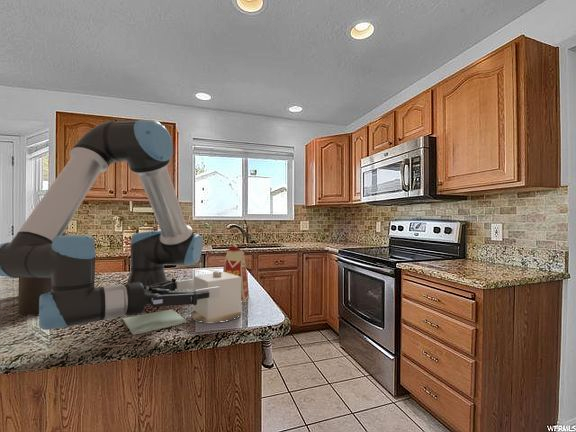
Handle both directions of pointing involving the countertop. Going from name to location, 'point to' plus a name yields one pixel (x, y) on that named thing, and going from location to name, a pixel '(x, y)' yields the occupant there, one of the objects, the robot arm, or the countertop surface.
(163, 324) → the mat
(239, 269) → the milk carton
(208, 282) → the white box with knob
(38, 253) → the robot arm
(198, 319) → the gold plate
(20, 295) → the pillar candle
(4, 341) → the countertop surface
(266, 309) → the countertop surface
